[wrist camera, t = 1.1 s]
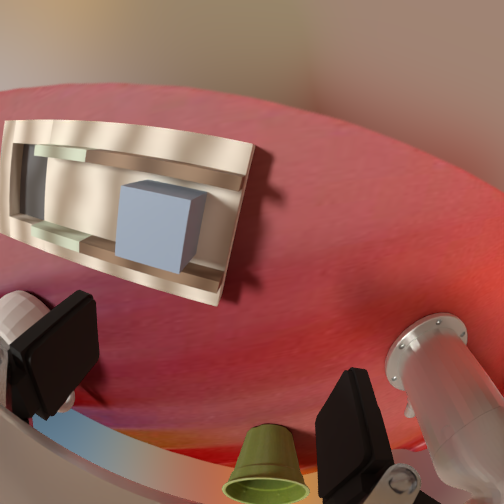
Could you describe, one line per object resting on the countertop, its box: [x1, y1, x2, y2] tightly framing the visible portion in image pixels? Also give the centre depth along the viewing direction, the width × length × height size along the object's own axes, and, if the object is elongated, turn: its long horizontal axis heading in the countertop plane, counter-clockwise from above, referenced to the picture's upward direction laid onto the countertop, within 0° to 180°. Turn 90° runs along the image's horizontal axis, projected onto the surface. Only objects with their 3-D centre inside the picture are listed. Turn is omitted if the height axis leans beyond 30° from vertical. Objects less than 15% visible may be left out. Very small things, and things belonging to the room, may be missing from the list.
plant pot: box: [222, 424, 310, 504], centre depth 34 cm, size 12×12×11 cm
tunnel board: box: [0, 120, 255, 306], centre depth 26 cm, size 34×16×5 cm, turn 77°
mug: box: [0, 290, 75, 412], centre depth 33 cm, size 21×17×10 cm
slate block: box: [115, 179, 207, 274], centre depth 24 cm, size 6×6×5 cm
